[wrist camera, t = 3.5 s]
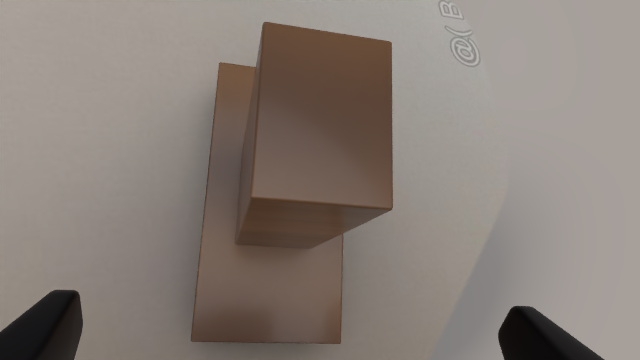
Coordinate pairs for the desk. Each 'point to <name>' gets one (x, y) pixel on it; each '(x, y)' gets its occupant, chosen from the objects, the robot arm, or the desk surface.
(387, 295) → the desk surface
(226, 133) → the duster
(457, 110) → the desk surface
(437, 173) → the desk surface
